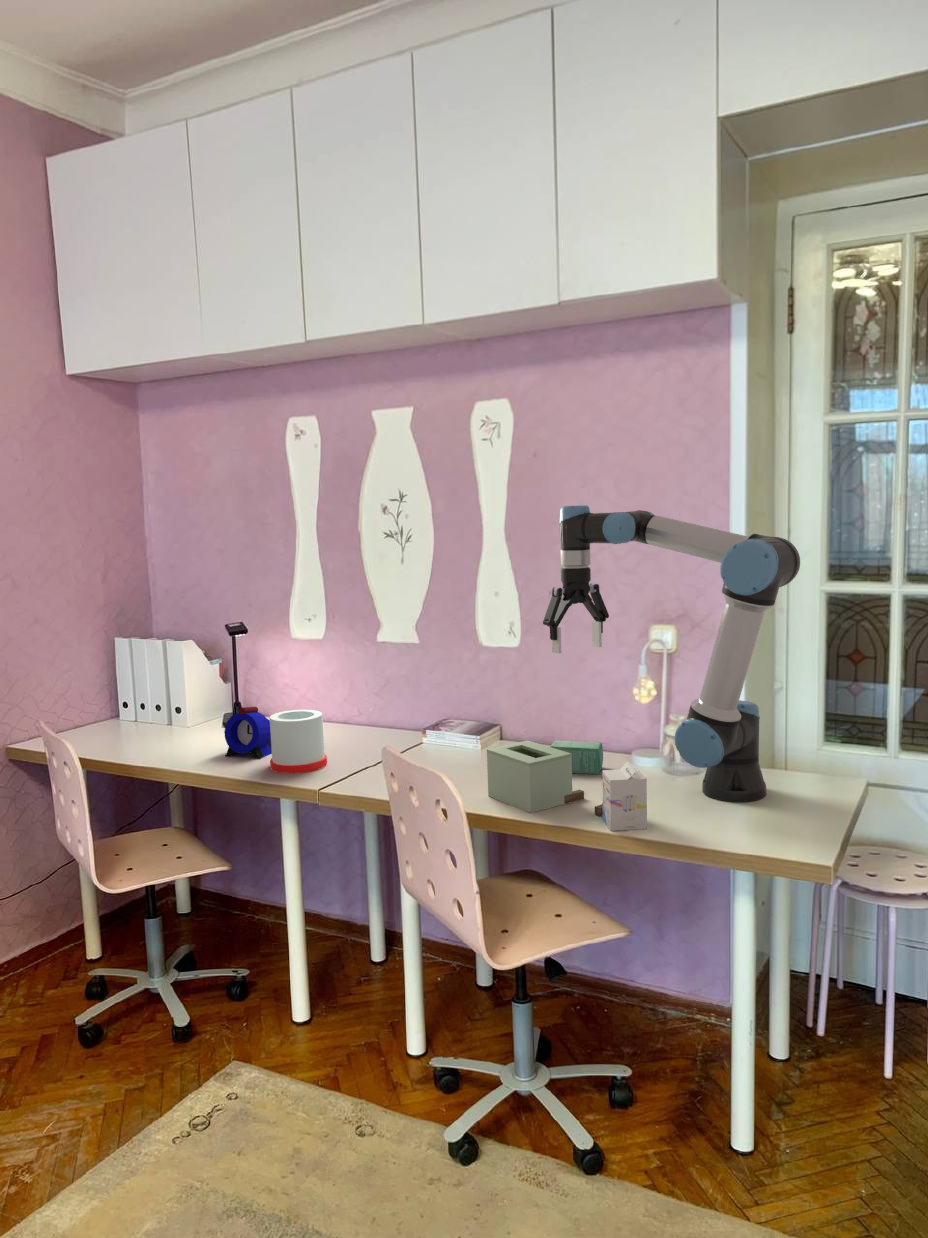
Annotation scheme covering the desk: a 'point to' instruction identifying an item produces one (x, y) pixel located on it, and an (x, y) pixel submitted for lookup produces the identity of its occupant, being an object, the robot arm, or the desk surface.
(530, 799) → the box
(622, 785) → the ink box
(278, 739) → the container
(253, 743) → the alarm clock
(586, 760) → the box
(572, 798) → the cradle
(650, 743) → the desk surface
